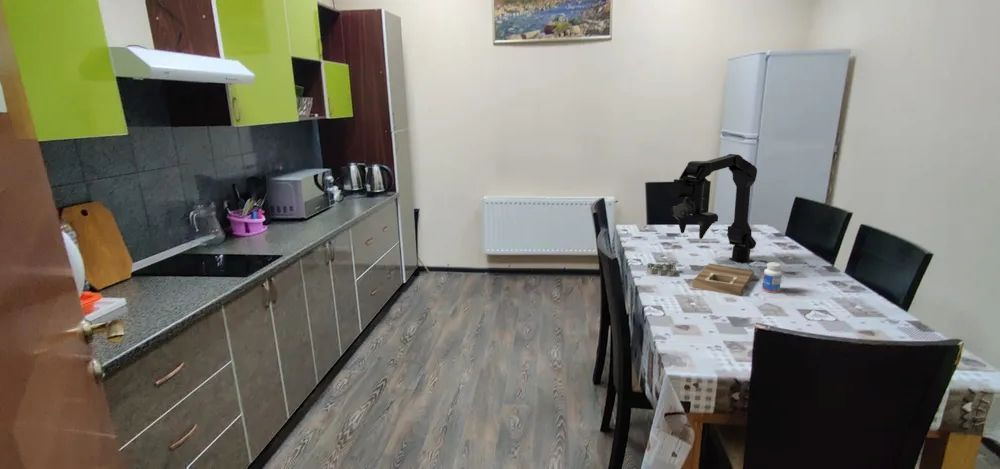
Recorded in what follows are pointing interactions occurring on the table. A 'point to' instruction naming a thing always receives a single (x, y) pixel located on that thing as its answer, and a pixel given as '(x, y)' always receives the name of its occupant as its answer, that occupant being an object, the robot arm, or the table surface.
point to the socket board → (723, 279)
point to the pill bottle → (772, 278)
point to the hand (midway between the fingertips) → (691, 235)
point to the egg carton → (662, 269)
